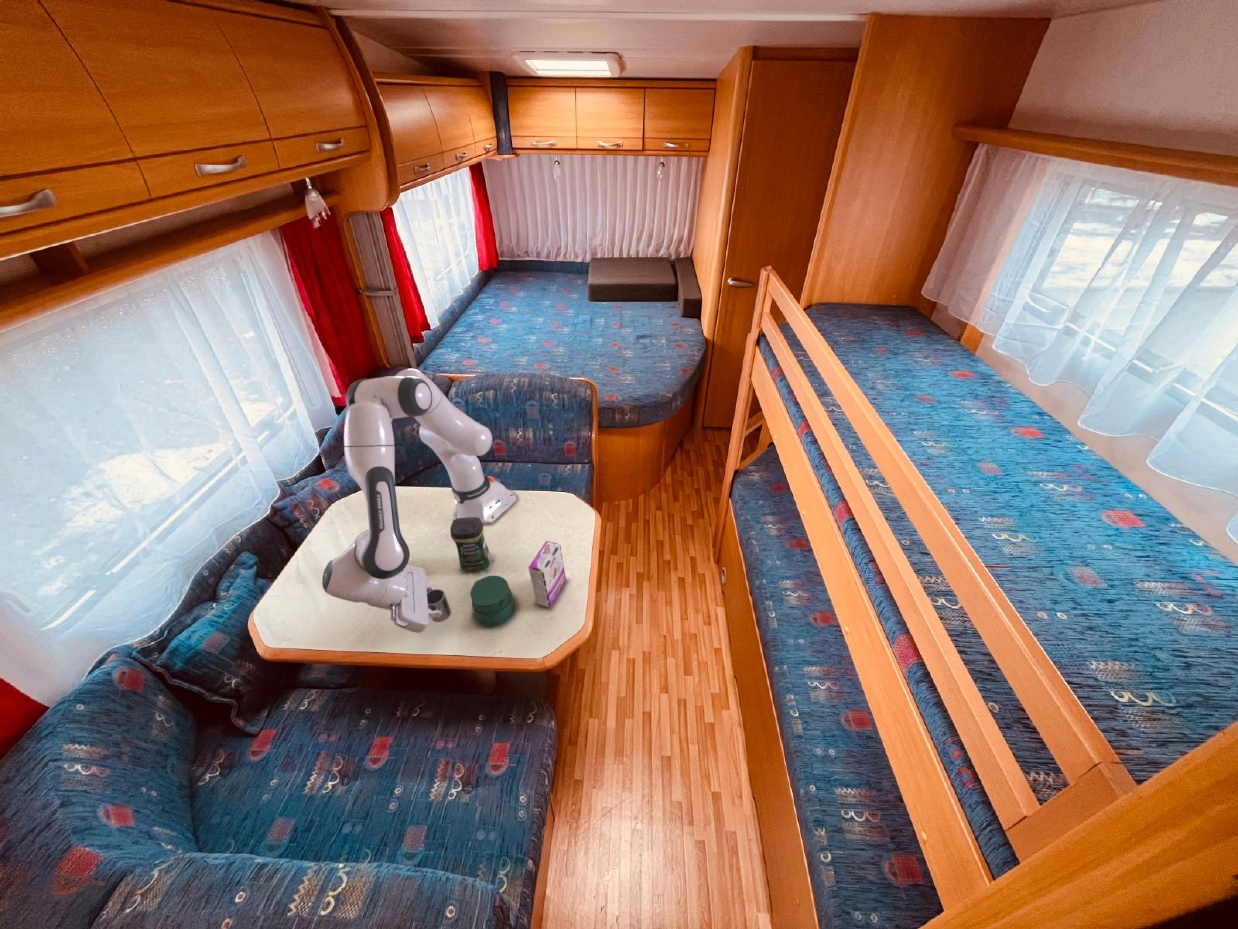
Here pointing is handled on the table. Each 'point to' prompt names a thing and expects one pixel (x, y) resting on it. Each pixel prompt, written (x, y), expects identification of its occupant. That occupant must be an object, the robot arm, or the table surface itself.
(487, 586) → the bucket
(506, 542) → the table surface
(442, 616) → the steel cup
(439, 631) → the table surface
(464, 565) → the coffee jar
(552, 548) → the candy bar box
